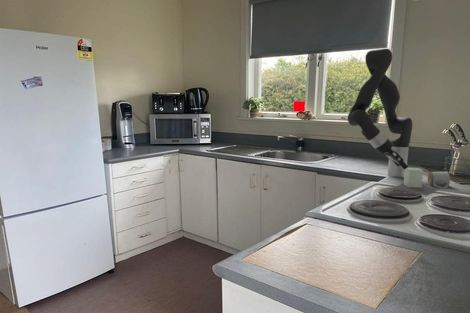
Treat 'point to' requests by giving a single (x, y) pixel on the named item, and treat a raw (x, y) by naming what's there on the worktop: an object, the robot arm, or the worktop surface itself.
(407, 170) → the pale green block
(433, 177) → the ceramic mug
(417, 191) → the mat
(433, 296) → the worktop surface
